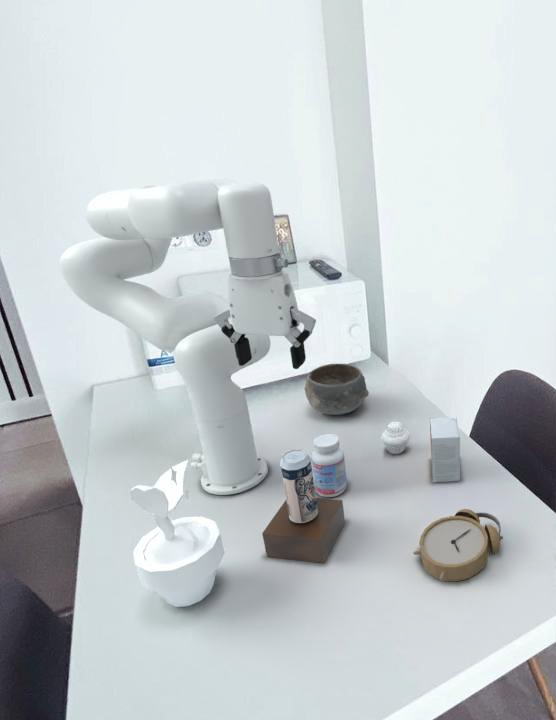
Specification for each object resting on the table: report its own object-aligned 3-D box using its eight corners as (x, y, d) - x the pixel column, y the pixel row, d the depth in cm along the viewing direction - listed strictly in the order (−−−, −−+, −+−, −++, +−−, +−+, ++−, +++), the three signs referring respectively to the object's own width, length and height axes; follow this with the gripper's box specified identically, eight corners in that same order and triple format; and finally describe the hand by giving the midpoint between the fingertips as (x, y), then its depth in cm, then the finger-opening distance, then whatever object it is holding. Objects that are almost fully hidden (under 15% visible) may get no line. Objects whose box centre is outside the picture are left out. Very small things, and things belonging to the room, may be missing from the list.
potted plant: (202, 628, 78) (162, 484, 68) (130, 617, 79) (80, 475, 69) (249, 563, 89) (221, 431, 79) (185, 554, 91) (149, 425, 81)
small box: (431, 460, 116) (429, 417, 111) (457, 459, 116) (456, 415, 112) (432, 483, 108) (430, 438, 104) (460, 481, 109) (459, 436, 104)
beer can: (310, 527, 90) (301, 466, 85) (284, 523, 90) (273, 463, 86) (323, 508, 94) (315, 449, 89) (297, 505, 95) (288, 446, 90)
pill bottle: (309, 493, 106) (302, 444, 101) (329, 476, 111) (323, 428, 106) (334, 501, 103) (328, 451, 99) (353, 484, 108) (348, 435, 104)
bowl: (312, 398, 142) (307, 363, 138) (372, 394, 143) (369, 360, 139) (303, 425, 129) (298, 387, 125) (369, 421, 131) (366, 384, 127)
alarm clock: (404, 540, 89) (471, 490, 97) (409, 560, 92) (475, 510, 99) (447, 580, 81) (516, 522, 89) (452, 601, 84) (519, 543, 92)
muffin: (379, 446, 121) (377, 418, 118) (406, 440, 123) (404, 413, 120) (386, 460, 116) (384, 432, 113) (414, 454, 118) (412, 426, 115)
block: (266, 556, 90) (261, 533, 88) (292, 517, 99) (289, 494, 97) (323, 563, 89) (320, 539, 87) (345, 522, 98) (342, 499, 96)
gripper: (317, 261, 88) (328, 358, 95) (218, 258, 90) (236, 353, 97) (297, 273, 81) (311, 376, 88) (191, 269, 84) (212, 370, 91)
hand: (272, 364), depth 93 cm, fingers open, 9 cm apart
